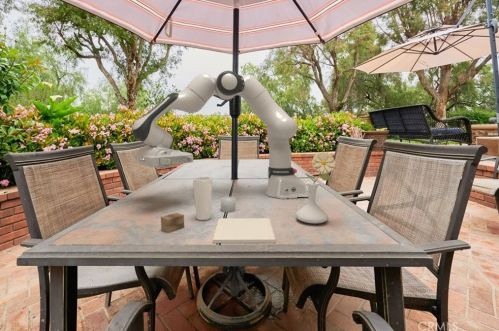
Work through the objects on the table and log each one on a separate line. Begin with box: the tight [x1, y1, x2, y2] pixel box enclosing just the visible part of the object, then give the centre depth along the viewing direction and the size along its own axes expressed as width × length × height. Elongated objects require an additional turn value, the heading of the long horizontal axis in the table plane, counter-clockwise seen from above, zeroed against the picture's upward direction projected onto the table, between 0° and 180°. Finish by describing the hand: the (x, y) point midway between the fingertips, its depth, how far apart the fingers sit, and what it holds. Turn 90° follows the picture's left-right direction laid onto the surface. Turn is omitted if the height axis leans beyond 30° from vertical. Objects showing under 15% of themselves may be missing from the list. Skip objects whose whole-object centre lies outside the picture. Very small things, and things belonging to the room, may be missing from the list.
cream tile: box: [212, 217, 276, 244], centre depth 81 cm, size 18×18×1 cm
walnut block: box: [160, 212, 185, 234], centre depth 82 cm, size 6×4×4 cm, turn 141°
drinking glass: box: [192, 176, 213, 221], centre depth 92 cm, size 7×7×15 cm
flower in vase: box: [295, 151, 337, 224], centre depth 89 cm, size 13×11×25 cm
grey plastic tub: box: [220, 196, 237, 213], centre depth 103 cm, size 6×6×5 cm
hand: (181, 160), depth 98 cm, fingers open, 8 cm apart
